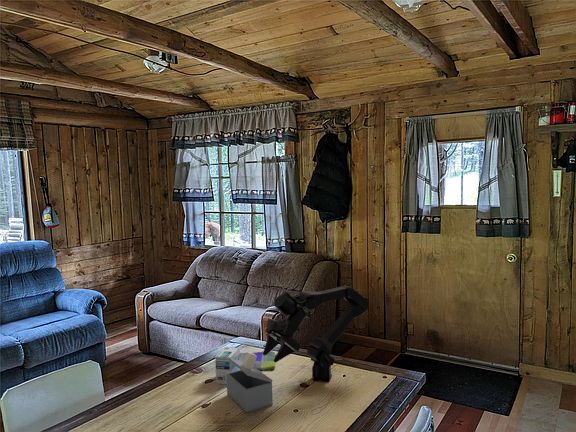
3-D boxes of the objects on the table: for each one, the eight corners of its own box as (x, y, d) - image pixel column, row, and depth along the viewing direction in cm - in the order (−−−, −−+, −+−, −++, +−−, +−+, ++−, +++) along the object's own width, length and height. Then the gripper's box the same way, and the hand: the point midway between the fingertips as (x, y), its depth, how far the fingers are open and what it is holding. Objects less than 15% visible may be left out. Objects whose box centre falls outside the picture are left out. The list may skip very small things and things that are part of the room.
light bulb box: (232, 385, 173) (231, 357, 172) (215, 384, 175) (214, 356, 174) (240, 373, 184) (239, 347, 183) (224, 372, 185) (223, 346, 184)
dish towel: (274, 372, 185) (274, 365, 185) (215, 373, 186) (215, 366, 186) (277, 356, 202) (277, 350, 202) (222, 356, 203) (222, 350, 203)
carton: (252, 388, 170) (251, 367, 169) (272, 405, 156) (271, 382, 156) (227, 395, 165) (226, 373, 164) (246, 413, 151) (245, 390, 151)
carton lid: (250, 366, 170) (256, 351, 171) (271, 382, 155) (278, 366, 156) (228, 359, 165) (234, 344, 166) (247, 375, 151) (254, 358, 152)
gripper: (267, 305, 174) (243, 340, 169) (289, 314, 157) (263, 353, 153) (287, 321, 178) (264, 356, 173) (311, 332, 161) (286, 370, 157)
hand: (269, 358), depth 164 cm, fingers open, 9 cm apart
